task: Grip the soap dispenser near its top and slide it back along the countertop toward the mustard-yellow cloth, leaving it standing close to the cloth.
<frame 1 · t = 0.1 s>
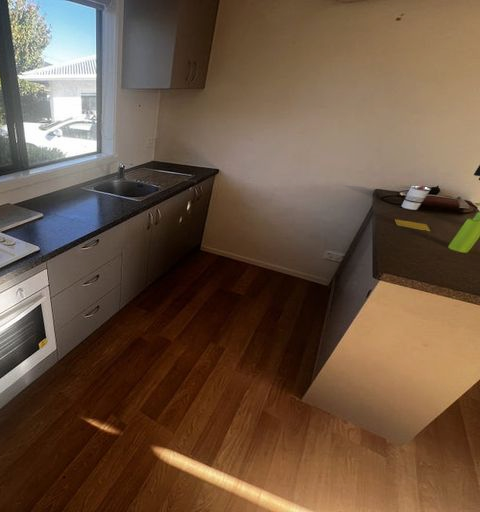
cloth: (411, 225, 147), on the worktop
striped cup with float: (409, 208, 169), on the worktop
soap dispenser: (455, 249, 123), on the worktop
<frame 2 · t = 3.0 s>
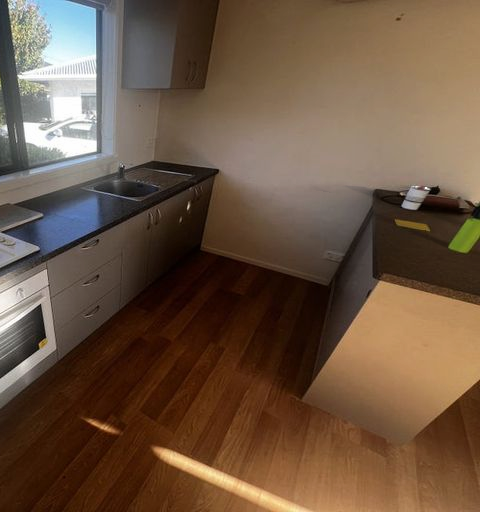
hand: (477, 217, 116), 15 cm above the worktop, tool pointing down, fingers closed on soap dispenser, 3 cm apart
soap dispenser: (455, 249, 123), on the worktop, touching gripper
everything else where it was.
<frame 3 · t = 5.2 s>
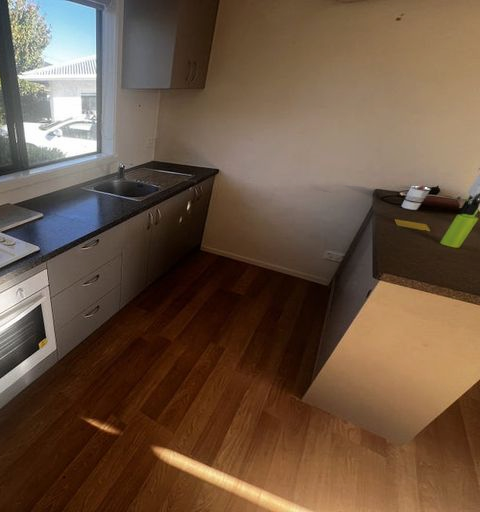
hand: (466, 212, 121), 15 cm above the worktop, tool pointing down, fingers closed on soap dispenser, 3 cm apart
soap dispenser: (447, 244, 127), on the worktop, touching gripper
everything else where it was.
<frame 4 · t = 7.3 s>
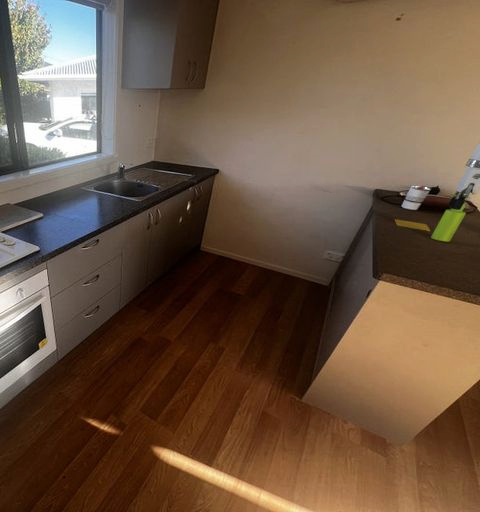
hand: (453, 207, 126), 15 cm above the worktop, tool pointing down, fingers closed on soap dispenser, 3 cm apart
soap dispenser: (438, 239, 132), on the worktop, touching gripper
everything else where it was.
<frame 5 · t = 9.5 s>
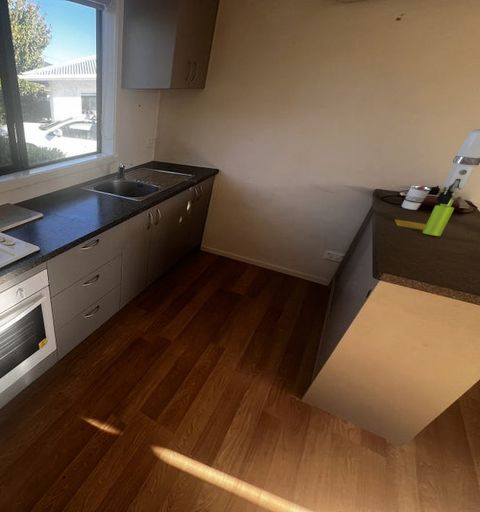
hand: (441, 202, 132), 15 cm above the worktop, tool pointing down, fingers closed on soap dispenser, 3 cm apart
soap dispenser: (429, 234, 136), point 1 cm above the worktop, touching gripper
everything else where it was.
when the fingers open (15 cm above the worktop, at t = 11.6 s): soap dispenser stays where it is, on the worktop.
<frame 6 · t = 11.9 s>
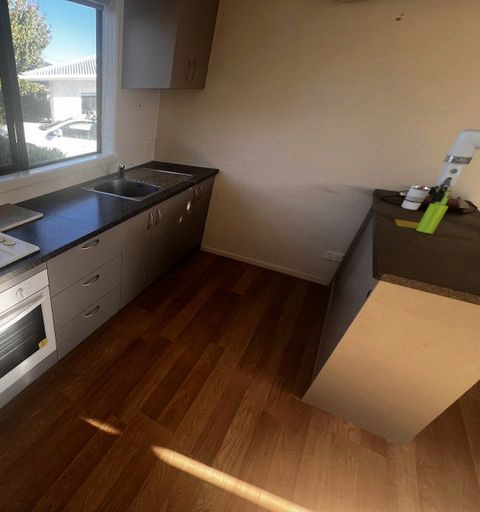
hand: (434, 199, 135), 15 cm above the worktop, tool pointing down, fingers open, 7 cm apart
soap dispenser: (422, 231, 139), on the worktop
everything else where it was.
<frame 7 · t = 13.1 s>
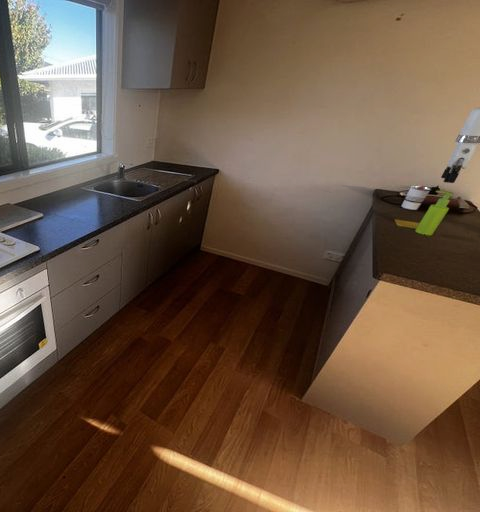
hand: (447, 180, 131), 24 cm above the worktop, tool pointing down, fingers open, 9 cm apart
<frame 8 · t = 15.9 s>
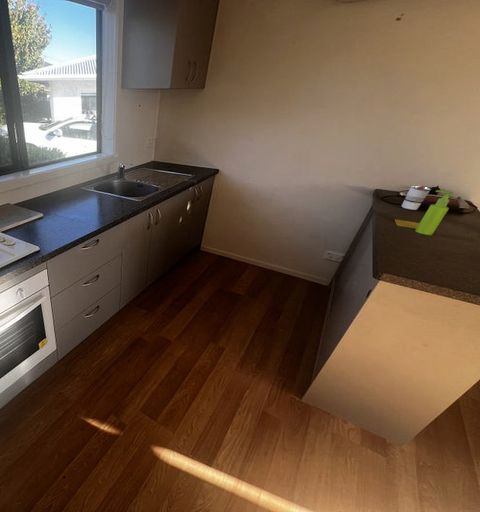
at the end: soap dispenser 9.5 cm from the cloth (horizontally); soap dispenser moved 17.9 cm from its start; soap dispenser tilted 1° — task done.
